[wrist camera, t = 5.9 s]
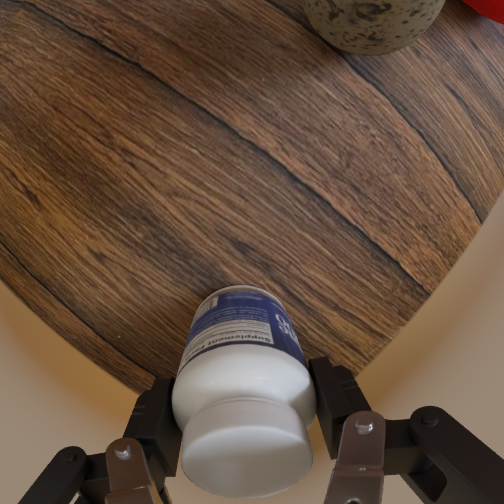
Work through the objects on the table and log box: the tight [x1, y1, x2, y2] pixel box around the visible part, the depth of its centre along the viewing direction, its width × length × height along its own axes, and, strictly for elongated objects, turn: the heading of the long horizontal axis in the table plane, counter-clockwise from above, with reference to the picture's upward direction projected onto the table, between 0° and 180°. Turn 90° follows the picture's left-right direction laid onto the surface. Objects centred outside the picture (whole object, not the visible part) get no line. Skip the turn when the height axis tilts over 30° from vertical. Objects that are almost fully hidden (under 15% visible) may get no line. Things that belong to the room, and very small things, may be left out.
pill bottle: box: [172, 285, 317, 499], centre depth 12 cm, size 5×5×10 cm
